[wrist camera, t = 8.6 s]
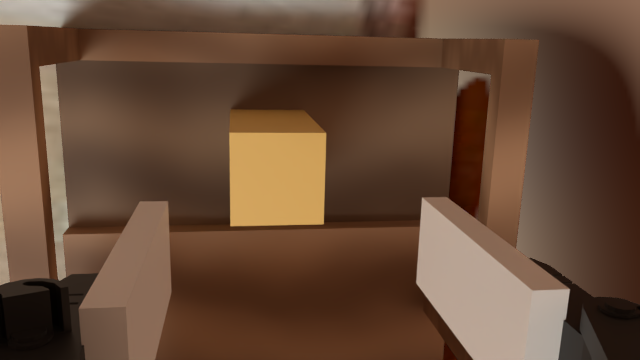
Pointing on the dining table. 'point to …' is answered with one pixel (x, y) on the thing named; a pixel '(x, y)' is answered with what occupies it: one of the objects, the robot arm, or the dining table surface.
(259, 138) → the block
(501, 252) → the robot arm
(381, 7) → the dining table surface
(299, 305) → the wooden organizer rack
